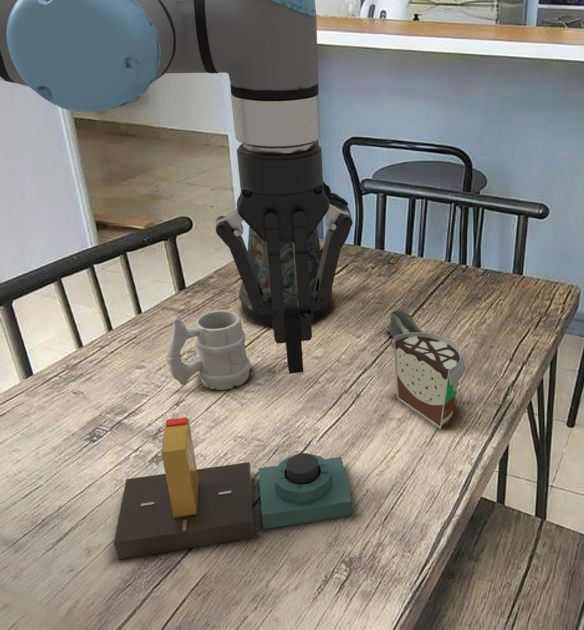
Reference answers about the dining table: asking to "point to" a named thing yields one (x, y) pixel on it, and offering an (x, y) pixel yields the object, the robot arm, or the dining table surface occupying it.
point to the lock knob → (180, 467)
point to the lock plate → (186, 531)
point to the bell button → (302, 468)
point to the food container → (428, 374)
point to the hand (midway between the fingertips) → (295, 366)
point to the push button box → (304, 495)
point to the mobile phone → (401, 324)
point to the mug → (211, 350)
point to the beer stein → (287, 268)
